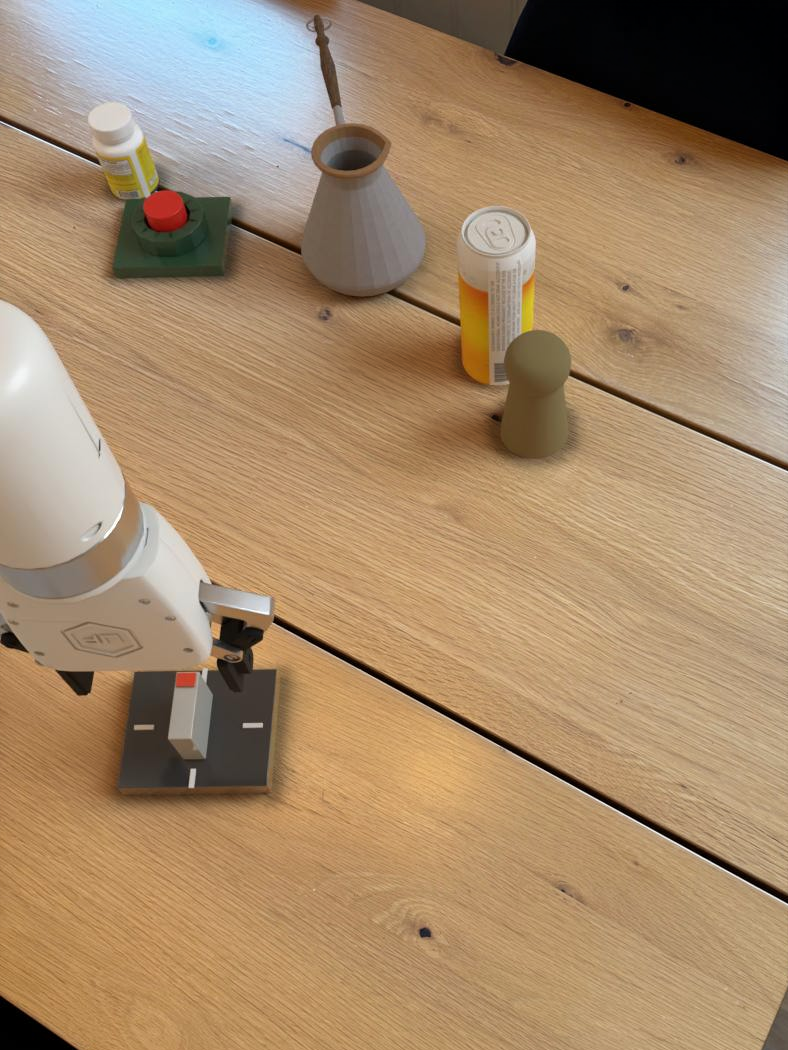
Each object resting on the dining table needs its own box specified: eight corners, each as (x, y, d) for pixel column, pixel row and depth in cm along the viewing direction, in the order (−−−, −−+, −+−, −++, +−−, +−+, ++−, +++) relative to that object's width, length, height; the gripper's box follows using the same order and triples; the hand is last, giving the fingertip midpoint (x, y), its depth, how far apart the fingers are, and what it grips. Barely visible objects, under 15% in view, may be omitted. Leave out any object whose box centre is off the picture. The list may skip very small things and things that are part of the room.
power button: (146, 234, 96) (140, 218, 95) (151, 206, 98) (145, 190, 96) (185, 233, 96) (180, 217, 94) (189, 205, 98) (184, 189, 96)
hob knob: (206, 759, 74) (190, 737, 70) (183, 759, 74) (166, 737, 70) (213, 694, 76) (198, 669, 73) (191, 694, 76) (175, 670, 73)
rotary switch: (127, 800, 75) (115, 788, 73) (144, 684, 80) (133, 669, 77) (273, 798, 75) (266, 786, 73) (283, 681, 80) (276, 666, 77)
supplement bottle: (146, 168, 105) (118, 91, 98) (171, 193, 104) (145, 117, 96) (104, 190, 104) (73, 114, 96) (129, 216, 102) (99, 140, 95)
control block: (119, 286, 98) (105, 252, 95) (133, 217, 102) (119, 182, 99) (226, 283, 98) (216, 250, 94) (235, 215, 102) (226, 180, 98)
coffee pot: (439, 300, 97) (429, 160, 83) (316, 323, 96) (286, 185, 82) (395, 147, 106) (380, -1, 93) (283, 166, 105) (251, 19, 92)
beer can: (515, 331, 95) (518, 193, 81) (541, 380, 92) (548, 246, 79) (452, 350, 94) (444, 214, 80) (477, 400, 91) (472, 268, 78)
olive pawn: (557, 474, 88) (564, 387, 78) (488, 456, 89) (487, 367, 79) (578, 419, 90) (587, 327, 80) (511, 402, 91) (512, 309, 81)
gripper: (-133, 594, 50) (18, 730, 65) (229, 586, 50) (295, 724, 65) (-95, 465, 53) (39, 623, 69) (244, 457, 53) (303, 617, 68)
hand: (164, 672), depth 67 cm, fingers open, 9 cm apart
